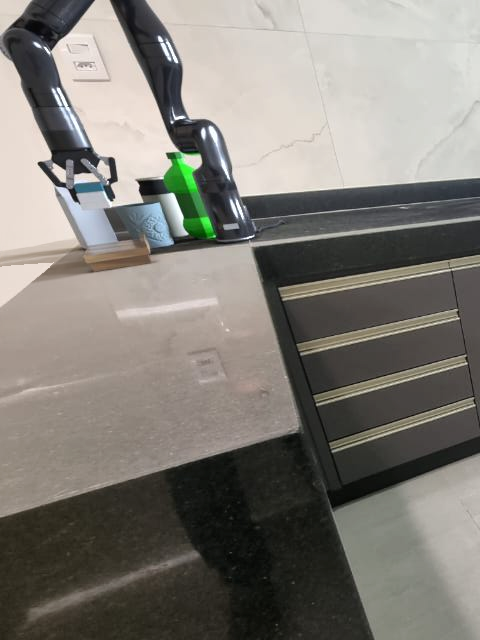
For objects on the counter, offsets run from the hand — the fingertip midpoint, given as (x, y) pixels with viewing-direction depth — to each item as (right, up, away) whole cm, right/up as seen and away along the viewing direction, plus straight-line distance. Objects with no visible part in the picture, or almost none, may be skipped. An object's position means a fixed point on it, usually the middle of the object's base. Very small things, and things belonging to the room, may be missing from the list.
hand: (96, 202), depth 132 cm
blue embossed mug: (-8, -6, +25) cm, 27 cm away
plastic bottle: (-1, -1, +34) cm, 34 cm away
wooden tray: (0, -13, +7) cm, 15 cm away
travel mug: (-14, 0, +38) cm, 41 cm away
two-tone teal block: (+1, -1, -1) cm, 2 cm away
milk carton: (-27, -5, +28) cm, 39 cm away
